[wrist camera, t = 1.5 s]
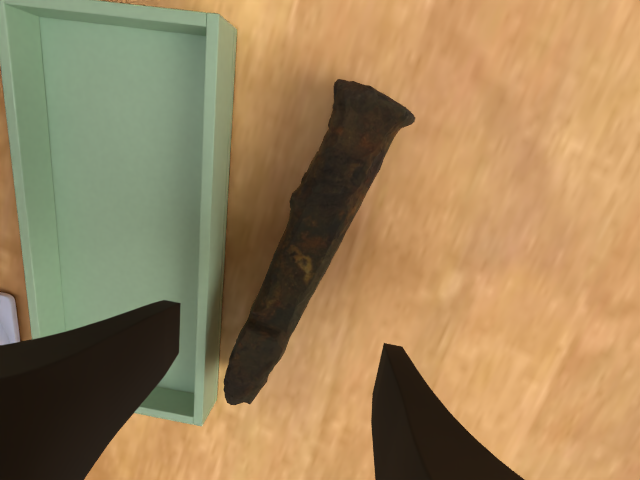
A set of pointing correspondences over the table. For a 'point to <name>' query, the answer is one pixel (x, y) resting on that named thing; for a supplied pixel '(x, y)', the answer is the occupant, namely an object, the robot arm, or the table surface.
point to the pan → (123, 172)
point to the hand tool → (314, 229)
